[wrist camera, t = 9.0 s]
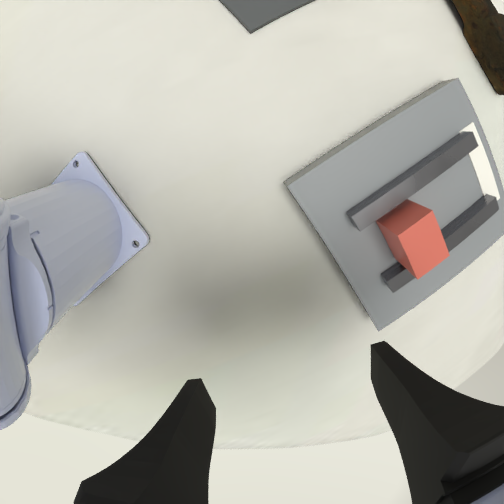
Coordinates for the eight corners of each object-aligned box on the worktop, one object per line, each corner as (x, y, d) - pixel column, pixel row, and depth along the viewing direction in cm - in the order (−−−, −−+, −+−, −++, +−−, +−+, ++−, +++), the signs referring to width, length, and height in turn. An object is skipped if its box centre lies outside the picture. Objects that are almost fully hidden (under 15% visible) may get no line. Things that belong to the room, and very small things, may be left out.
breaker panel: (369, 316, 21) (383, 341, 18) (283, 182, 18) (289, 189, 15) (497, 219, 19) (521, 230, 16) (442, 81, 15) (468, 75, 12)
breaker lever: (394, 258, 18) (417, 279, 15) (374, 219, 17) (397, 235, 14) (423, 237, 17) (449, 255, 14) (405, 198, 16) (432, 210, 13)
